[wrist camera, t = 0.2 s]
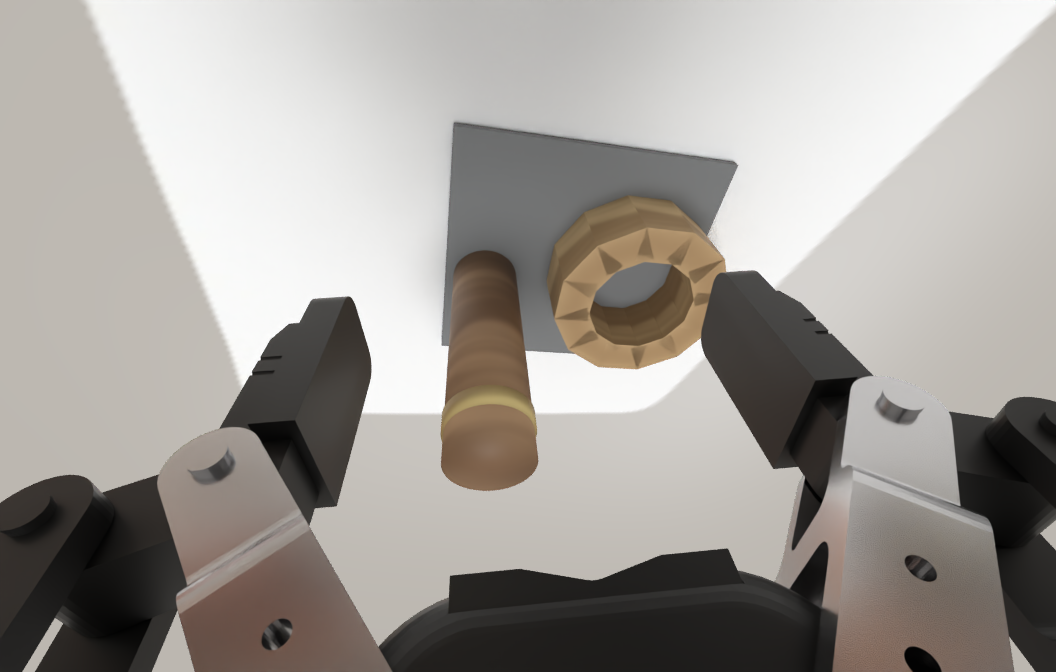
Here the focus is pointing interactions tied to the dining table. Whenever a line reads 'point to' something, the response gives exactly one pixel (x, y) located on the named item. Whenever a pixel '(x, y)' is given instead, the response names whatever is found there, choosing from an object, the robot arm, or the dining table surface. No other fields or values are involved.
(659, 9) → the dining table surface
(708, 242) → the tan faceted ring
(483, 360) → the banded wooden cylinder
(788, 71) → the dining table surface
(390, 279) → the dining table surface
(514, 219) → the mat
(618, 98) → the dining table surface
